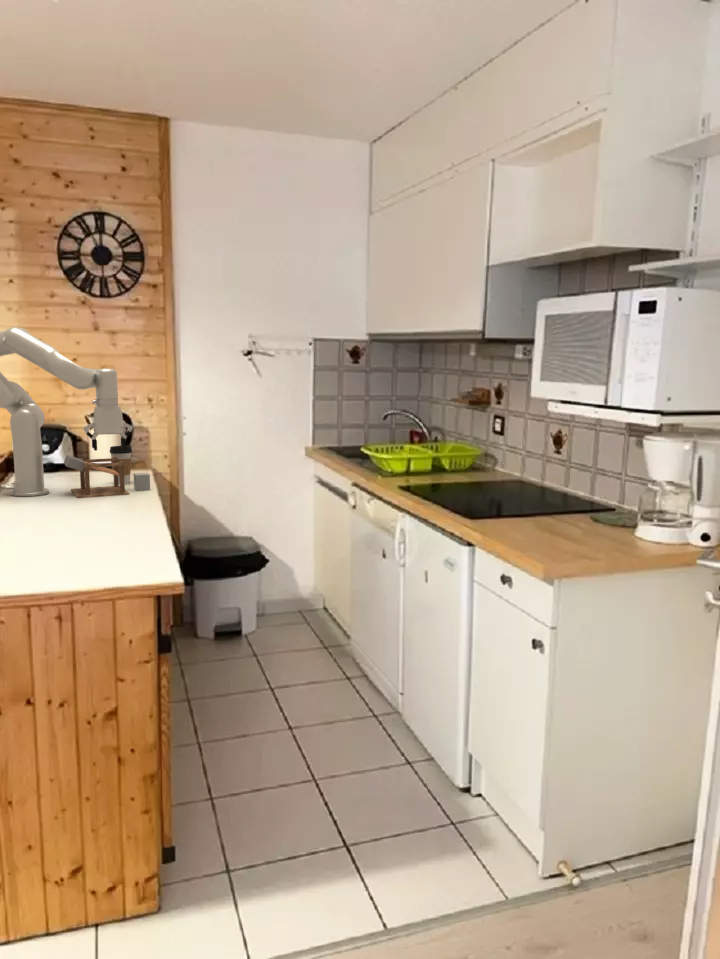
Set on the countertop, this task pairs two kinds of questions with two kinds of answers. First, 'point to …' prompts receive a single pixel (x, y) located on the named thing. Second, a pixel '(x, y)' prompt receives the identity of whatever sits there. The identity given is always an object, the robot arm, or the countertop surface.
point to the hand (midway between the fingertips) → (109, 449)
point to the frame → (101, 491)
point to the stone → (141, 481)
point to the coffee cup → (123, 456)
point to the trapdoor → (79, 465)
